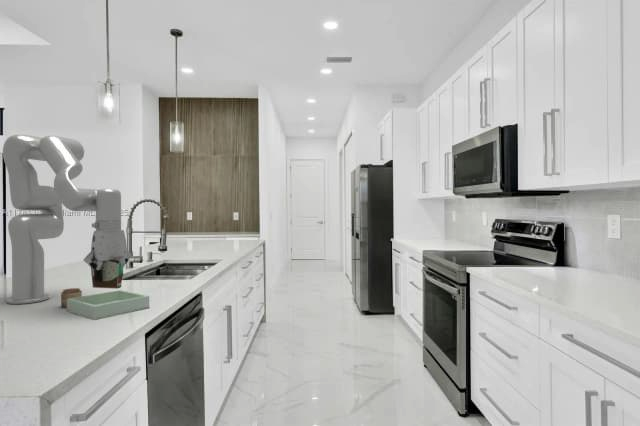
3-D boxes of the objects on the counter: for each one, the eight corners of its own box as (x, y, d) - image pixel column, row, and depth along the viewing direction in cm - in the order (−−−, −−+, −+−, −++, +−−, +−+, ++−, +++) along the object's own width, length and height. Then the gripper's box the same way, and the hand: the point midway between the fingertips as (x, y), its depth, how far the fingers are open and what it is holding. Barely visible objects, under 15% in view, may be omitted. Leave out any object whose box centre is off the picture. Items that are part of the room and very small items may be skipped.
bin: (66, 311, 131) (66, 298, 130) (120, 300, 145) (120, 289, 145) (94, 319, 120) (94, 306, 120) (149, 307, 135) (149, 296, 135)
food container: (133, 285, 135) (133, 255, 135) (121, 288, 129) (121, 258, 129) (102, 284, 138) (102, 255, 138) (88, 287, 132) (88, 257, 132)
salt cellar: (57, 306, 136) (57, 290, 136) (76, 303, 141) (76, 287, 141) (66, 309, 133) (66, 292, 133) (84, 305, 138) (84, 289, 138)
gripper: (87, 227, 123) (87, 285, 123) (139, 225, 138) (139, 277, 138) (75, 227, 128) (75, 283, 128) (127, 225, 142) (127, 275, 142)
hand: (109, 279), depth 133 cm, fingers closed on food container, 6 cm apart
